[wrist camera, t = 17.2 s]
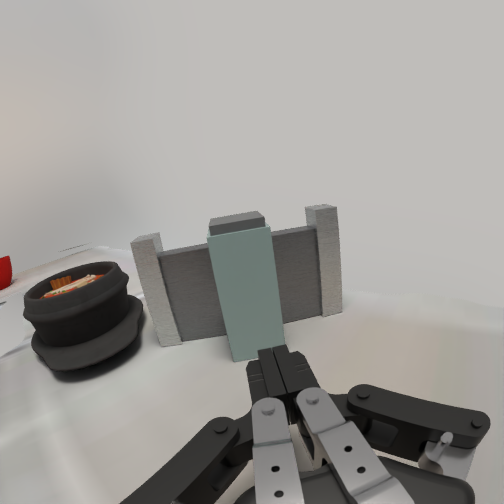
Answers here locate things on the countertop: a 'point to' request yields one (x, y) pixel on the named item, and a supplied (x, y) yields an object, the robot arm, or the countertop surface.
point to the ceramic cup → (5, 272)
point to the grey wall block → (205, 290)
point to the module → (246, 282)
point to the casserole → (82, 315)
